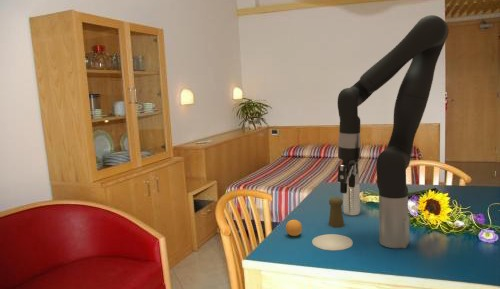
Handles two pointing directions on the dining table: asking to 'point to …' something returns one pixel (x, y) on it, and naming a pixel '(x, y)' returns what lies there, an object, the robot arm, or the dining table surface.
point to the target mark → (332, 242)
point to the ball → (293, 227)
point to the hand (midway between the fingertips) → (347, 189)
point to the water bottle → (352, 198)
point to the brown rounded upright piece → (336, 212)
